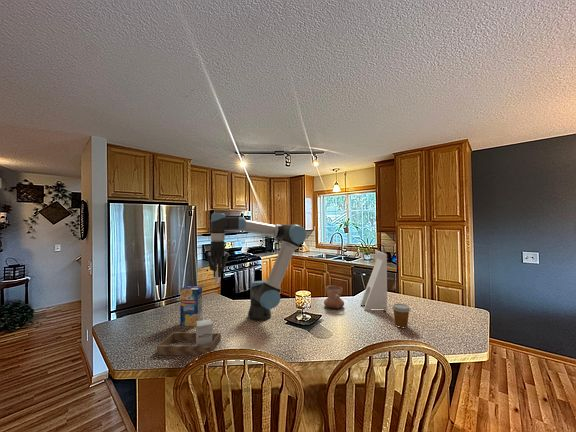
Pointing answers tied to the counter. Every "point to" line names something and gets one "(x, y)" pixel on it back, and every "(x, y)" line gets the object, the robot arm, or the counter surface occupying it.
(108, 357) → the counter surface
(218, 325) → the counter surface
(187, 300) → the beverage box
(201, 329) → the supplement box
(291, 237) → the robot arm
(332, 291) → the ceramic jug
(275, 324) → the counter surface
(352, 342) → the counter surface
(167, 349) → the frame
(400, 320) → the disposable coffee cup
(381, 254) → the grey tall wedge
